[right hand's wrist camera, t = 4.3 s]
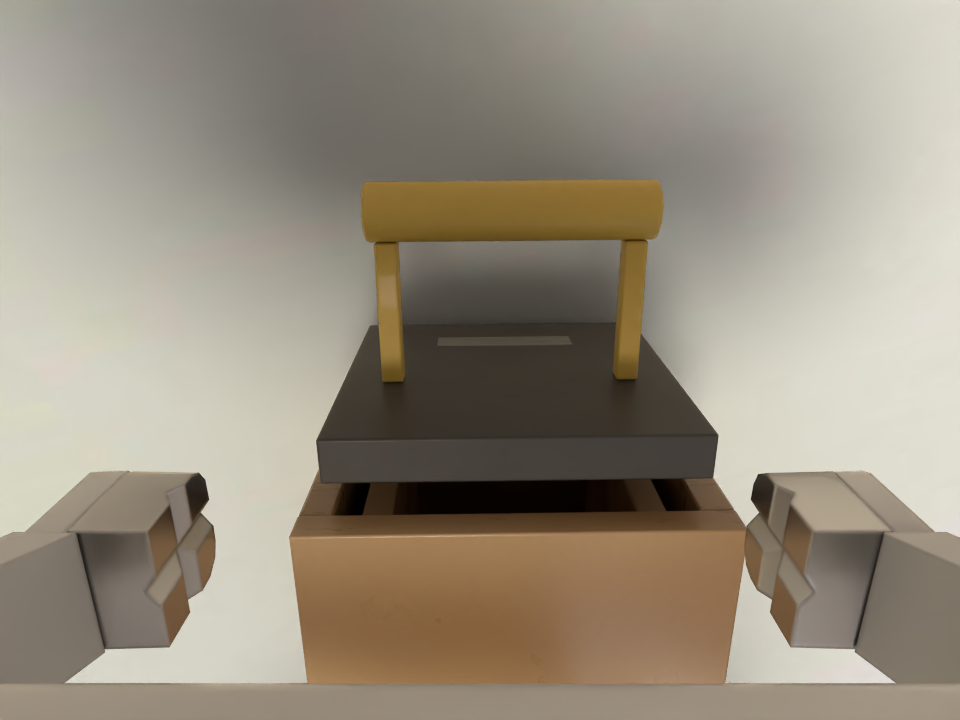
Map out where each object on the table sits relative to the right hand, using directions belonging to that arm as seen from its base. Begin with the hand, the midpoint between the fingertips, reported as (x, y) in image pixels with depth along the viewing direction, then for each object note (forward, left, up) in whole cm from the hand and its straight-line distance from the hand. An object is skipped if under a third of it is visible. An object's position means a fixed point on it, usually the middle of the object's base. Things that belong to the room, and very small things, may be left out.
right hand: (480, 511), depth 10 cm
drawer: (+9, 0, -14) cm, 17 cm away
